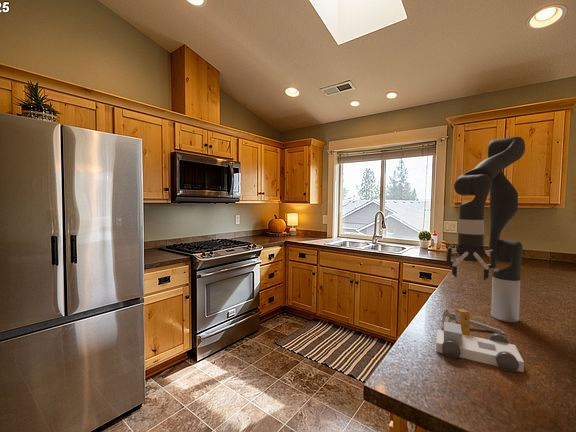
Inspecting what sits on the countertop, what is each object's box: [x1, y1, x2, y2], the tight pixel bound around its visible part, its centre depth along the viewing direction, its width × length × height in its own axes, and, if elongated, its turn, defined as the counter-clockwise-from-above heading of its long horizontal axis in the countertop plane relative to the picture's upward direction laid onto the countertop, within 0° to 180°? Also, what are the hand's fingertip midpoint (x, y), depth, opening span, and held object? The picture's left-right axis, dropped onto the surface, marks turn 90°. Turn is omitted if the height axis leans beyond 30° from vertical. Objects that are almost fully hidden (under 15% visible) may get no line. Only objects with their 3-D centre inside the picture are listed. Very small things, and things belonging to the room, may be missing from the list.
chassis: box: [436, 321, 525, 373], centre depth 88 cm, size 15×22×7 cm
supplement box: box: [454, 308, 471, 336], centre depth 98 cm, size 3×3×10 cm
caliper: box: [441, 308, 506, 335], centre depth 106 cm, size 20×1×6 cm, turn 62°
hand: (469, 278), depth 95 cm, fingers open, 8 cm apart
